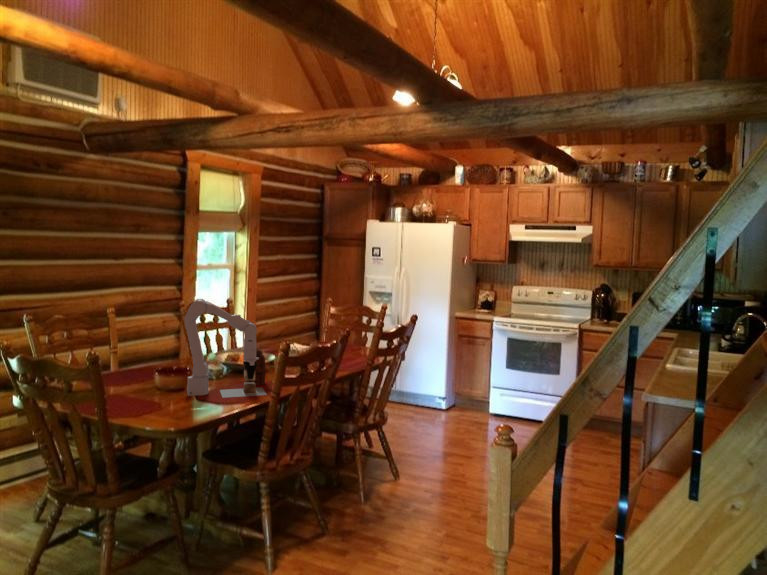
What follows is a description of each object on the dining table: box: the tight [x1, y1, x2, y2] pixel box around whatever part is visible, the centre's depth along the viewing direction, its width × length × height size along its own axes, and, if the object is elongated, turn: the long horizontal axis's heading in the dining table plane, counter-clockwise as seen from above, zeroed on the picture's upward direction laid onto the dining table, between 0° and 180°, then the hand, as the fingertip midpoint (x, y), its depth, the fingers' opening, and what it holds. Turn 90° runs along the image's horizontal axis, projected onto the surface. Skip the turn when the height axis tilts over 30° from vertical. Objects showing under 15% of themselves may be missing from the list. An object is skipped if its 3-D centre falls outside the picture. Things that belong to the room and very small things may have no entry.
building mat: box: [219, 387, 268, 399], centre depth 290 cm, size 20×14×1 cm
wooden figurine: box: [245, 347, 266, 386], centre depth 309 cm, size 12×6×18 cm, turn 63°
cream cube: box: [243, 369, 255, 382], centre depth 290 cm, size 4×4×4 cm
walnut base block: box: [242, 381, 257, 394], centre depth 291 cm, size 5×5×4 cm
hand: (249, 377), depth 290 cm, fingers closed on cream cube, 4 cm apart
